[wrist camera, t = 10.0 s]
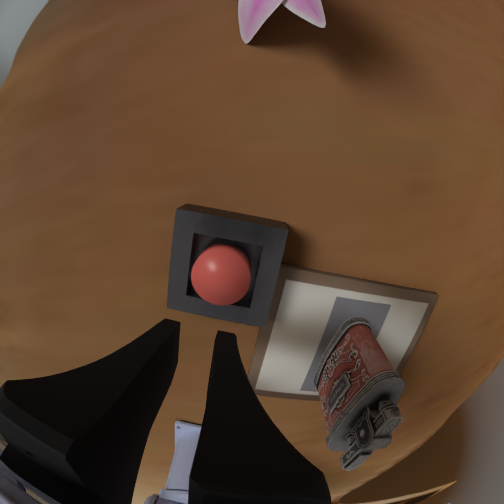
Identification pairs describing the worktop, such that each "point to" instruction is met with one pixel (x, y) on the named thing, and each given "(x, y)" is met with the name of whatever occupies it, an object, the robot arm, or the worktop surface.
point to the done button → (221, 274)
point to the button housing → (240, 235)
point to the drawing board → (330, 326)
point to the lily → (264, 4)
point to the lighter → (358, 393)
